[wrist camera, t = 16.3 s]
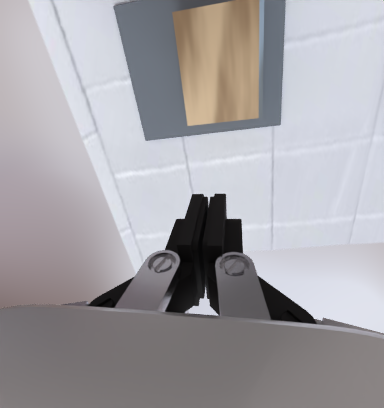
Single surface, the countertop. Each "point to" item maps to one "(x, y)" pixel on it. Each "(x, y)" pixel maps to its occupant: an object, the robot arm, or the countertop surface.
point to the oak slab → (221, 61)
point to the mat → (170, 70)
